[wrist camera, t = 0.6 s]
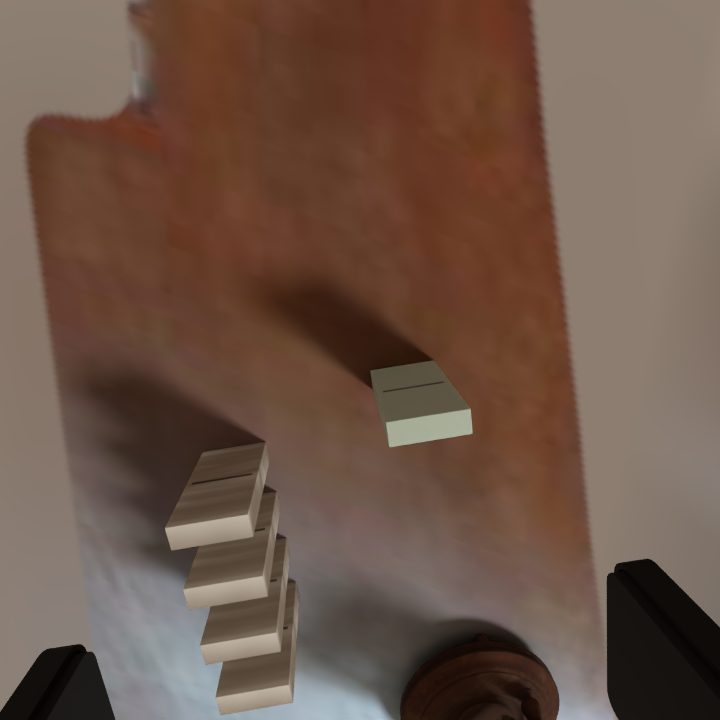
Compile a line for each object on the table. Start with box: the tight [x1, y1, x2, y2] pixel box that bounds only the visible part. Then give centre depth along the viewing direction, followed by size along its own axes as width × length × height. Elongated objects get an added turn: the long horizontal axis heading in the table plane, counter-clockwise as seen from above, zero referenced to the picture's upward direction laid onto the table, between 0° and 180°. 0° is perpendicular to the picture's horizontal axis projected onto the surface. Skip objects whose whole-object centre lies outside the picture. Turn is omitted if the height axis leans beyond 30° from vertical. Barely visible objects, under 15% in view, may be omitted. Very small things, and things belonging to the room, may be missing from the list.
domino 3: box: [200, 538, 290, 665], centre depth 38 cm, size 2×5×10 cm, turn 98°
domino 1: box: [165, 442, 270, 551], centre depth 35 cm, size 2×5×10 cm, turn 98°
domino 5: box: [370, 360, 473, 447], centre depth 34 cm, size 2×5×10 cm, turn 98°
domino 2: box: [183, 491, 280, 610], centre depth 37 cm, size 2×5×10 cm, turn 98°
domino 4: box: [216, 582, 299, 715], centre depth 39 cm, size 2×5×10 cm, turn 98°
